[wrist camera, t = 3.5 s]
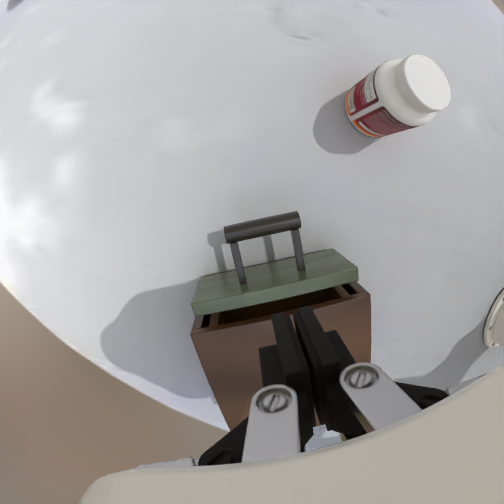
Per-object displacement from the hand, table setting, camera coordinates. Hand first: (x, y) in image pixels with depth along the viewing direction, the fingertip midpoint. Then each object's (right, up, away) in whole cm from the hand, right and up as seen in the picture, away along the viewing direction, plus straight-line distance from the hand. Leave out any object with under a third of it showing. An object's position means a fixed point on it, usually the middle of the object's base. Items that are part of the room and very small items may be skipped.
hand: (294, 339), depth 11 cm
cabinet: (+2, -6, +19) cm, 20 cm away
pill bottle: (+11, +19, +13) cm, 25 cm away
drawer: (+1, -1, +17) cm, 17 cm away
